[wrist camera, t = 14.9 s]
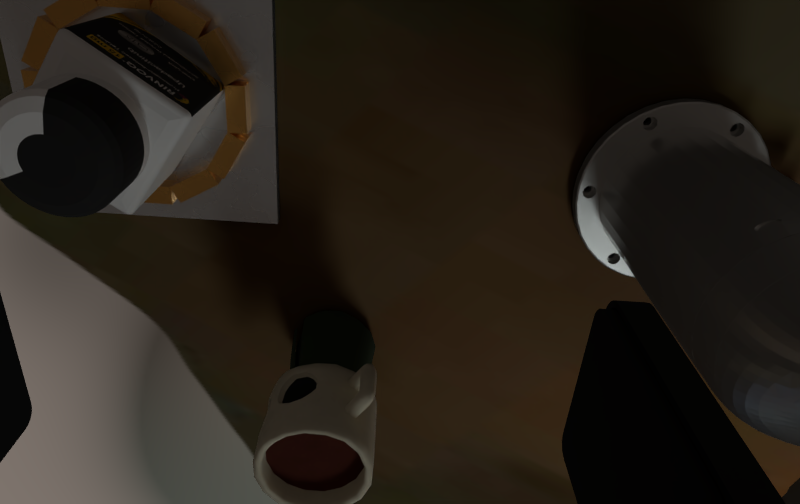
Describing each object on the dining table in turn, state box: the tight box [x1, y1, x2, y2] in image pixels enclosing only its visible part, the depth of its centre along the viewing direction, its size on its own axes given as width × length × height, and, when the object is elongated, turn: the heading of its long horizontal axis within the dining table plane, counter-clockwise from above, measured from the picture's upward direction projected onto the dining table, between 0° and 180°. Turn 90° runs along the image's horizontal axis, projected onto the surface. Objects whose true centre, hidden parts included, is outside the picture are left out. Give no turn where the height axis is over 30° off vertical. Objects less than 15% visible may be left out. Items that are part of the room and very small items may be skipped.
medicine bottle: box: [0, 13, 224, 217], centre depth 32 cm, size 7×7×12 cm
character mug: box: [253, 311, 377, 504], centre depth 41 cm, size 11×7×13 cm, turn 141°
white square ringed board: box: [0, 0, 280, 224], centre depth 37 cm, size 16×16×2 cm
